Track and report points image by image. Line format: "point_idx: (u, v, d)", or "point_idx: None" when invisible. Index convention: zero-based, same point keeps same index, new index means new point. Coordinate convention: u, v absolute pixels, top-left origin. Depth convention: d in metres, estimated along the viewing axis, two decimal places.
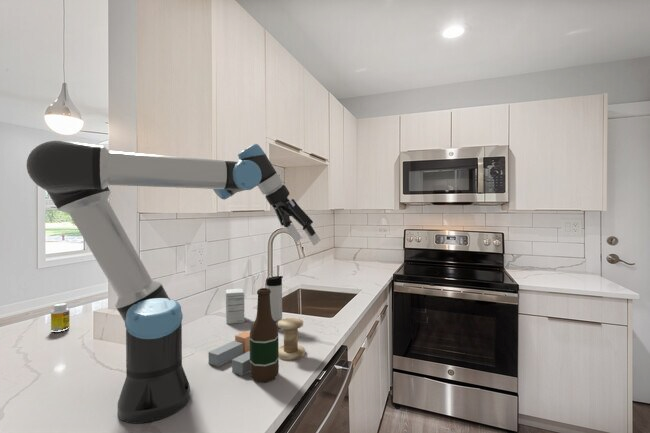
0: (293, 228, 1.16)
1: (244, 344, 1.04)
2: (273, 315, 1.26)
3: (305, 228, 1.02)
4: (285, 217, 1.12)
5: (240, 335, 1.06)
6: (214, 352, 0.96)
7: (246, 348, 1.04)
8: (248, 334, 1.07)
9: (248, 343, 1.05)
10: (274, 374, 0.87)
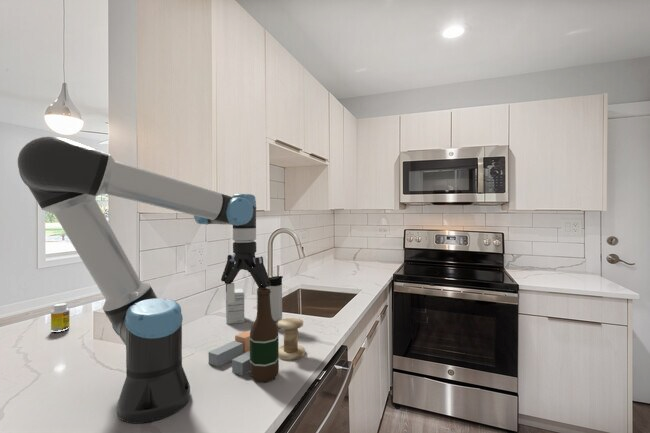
0: (232, 288, 1.11)
1: (244, 344, 1.04)
2: (273, 315, 1.26)
3: (260, 288, 1.01)
4: (234, 273, 1.09)
5: (240, 335, 1.06)
6: (214, 352, 0.96)
7: (246, 348, 1.04)
8: (248, 334, 1.07)
9: (248, 343, 1.05)
10: (274, 374, 0.87)
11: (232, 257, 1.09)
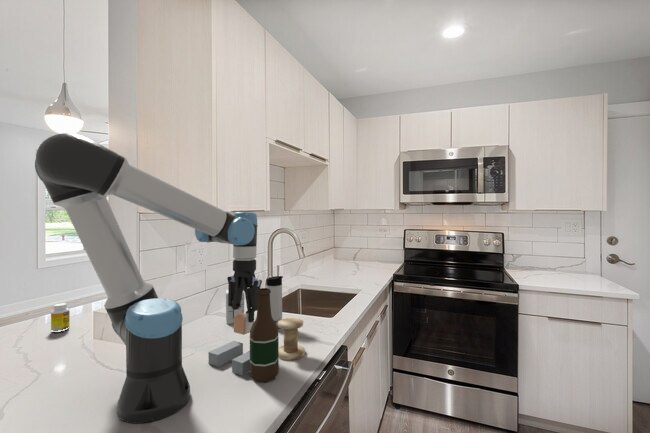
0: (240, 313, 1.08)
1: (243, 325, 1.04)
2: (273, 315, 1.26)
3: (248, 312, 1.03)
4: (238, 294, 1.07)
5: (239, 316, 1.06)
6: (214, 352, 0.96)
7: (244, 330, 1.04)
8: None
9: None
10: (274, 374, 0.87)
11: (232, 277, 1.09)
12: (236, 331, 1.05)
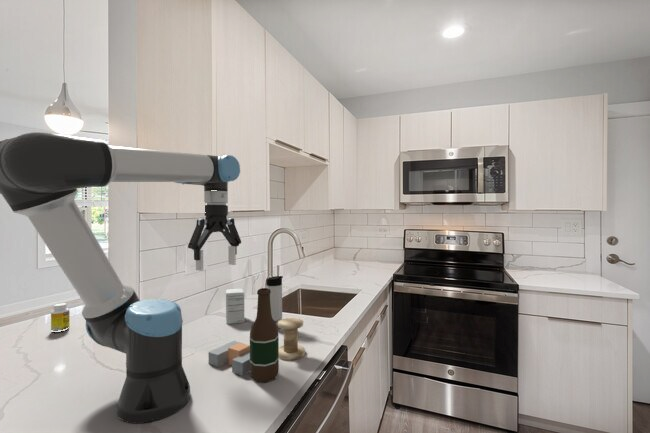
0: (232, 251, 1.14)
1: None
2: (273, 315, 1.26)
3: (193, 249, 1.03)
4: (225, 235, 1.13)
5: (238, 344, 0.99)
6: (214, 352, 0.96)
7: (229, 360, 0.96)
8: (238, 348, 0.96)
9: (231, 356, 0.96)
10: (274, 374, 0.87)
11: None
12: None
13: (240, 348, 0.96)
